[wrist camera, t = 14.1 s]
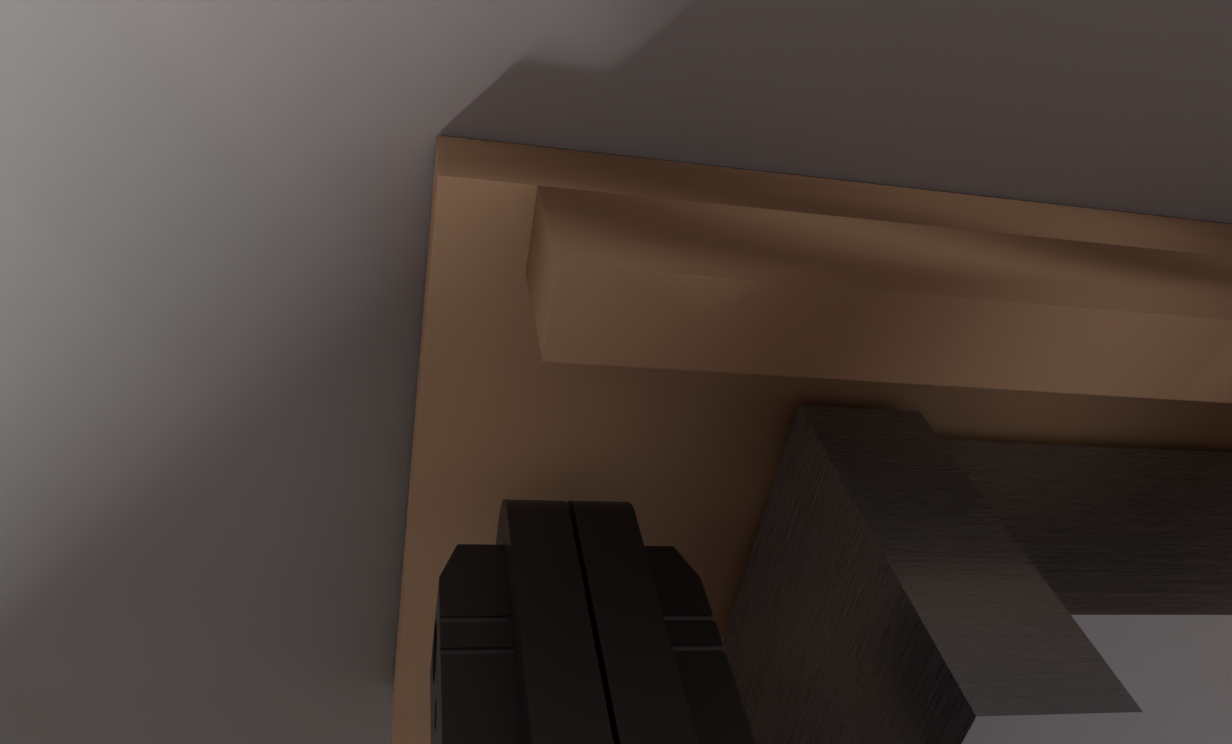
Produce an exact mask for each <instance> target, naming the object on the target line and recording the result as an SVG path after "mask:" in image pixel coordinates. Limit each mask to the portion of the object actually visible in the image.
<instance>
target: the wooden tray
mask: <svg viewBox="0 0 1232 744" xmlns="http://www.w3.org/2000/svg"><path fill="white" fill-rule="evenodd" d="M799 405H811V406H829V407H848V408H867V409H885V410H904V411H919V412H920V413H921V414H922V416H923V417H924V418H925V420H926V421H927V422H928V424H929V425H930V426H931V428H932V429H933V430H934V432H935V433H936V434H937V436H938V437H939V438H940V439H951V440H973V441H994V442H1015V443H1037V444H1058V445H1080V446H1101V447H1123V448H1144V449H1165V450H1187V451H1208V452H1230V453H1232V224H1225V223H1217V222H1208V221H1199V220H1190V219H1181V218H1172V217H1163V216H1154V215H1145V214H1136V213H1127V212H1118V211H1109V210H1100V209H1092V208H1083V207H1074V206H1065V205H1056V204H1047V203H1038V202H1029V201H1020V200H1011V199H1002V198H993V197H984V196H975V195H967V194H958V193H949V192H940V191H931V190H922V189H913V188H904V187H895V186H886V185H877V184H868V183H859V182H850V181H842V180H833V179H824V178H815V177H806V176H797V175H788V174H779V173H770V172H761V171H752V170H743V169H734V168H725V167H717V166H708V165H699V164H690V163H681V162H672V161H663V160H654V159H645V158H636V157H627V156H618V155H609V154H600V153H592V152H583V151H574V150H565V149H556V148H547V147H538V146H529V145H520V144H511V143H502V142H493V141H484V140H475V139H467V138H458V137H449V136H440V135H437V141H436V153H435V166H434V179H433V191H432V204H431V217H430V229H429V242H428V255H427V267H426V280H425V292H424V305H423V318H422V330H421V343H420V356H419V368H418V381H417V394H416V406H415V419H414V432H413V444H412V457H411V470H410V482H409V495H408V508H407V520H406V533H405V545H404V558H403V571H402V583H401V596H400V609H399V621H398V634H397V647H396V659H395V672H394V685H393V709H392V740H391V744H431V720H430V718H431V711H430V667H431V656H432V646H433V635H434V625H435V615H436V604H437V594H438V583H439V576H440V575H441V573H442V571H443V569H444V567H445V566H446V564H447V562H448V560H449V558H450V557H451V555H452V553H453V551H454V549H455V547H456V546H457V544H489V545H495V544H496V536H497V529H498V521H499V514H500V508H501V504H502V501H503V500H504V499H509V500H556V501H566V502H568V501H615V502H630V503H631V504H632V506H633V508H634V511H635V514H636V518H637V521H638V525H639V528H640V532H641V536H642V539H643V543H644V546H674V548H675V549H676V550H677V551H678V552H679V553H680V554H681V556H682V557H683V558H684V559H685V560H686V561H687V563H688V564H689V565H690V566H691V567H692V568H693V569H694V571H695V572H696V573H697V574H698V575H699V576H700V578H701V580H702V583H703V586H704V589H705V592H706V595H707V598H708V601H709V604H710V607H711V610H712V613H713V615H712V619H713V621H715V622H716V625H717V628H718V631H719V634H720V637H721V640H722V642H723V639H724V635H725V632H726V629H727V626H728V623H729V620H730V617H731V614H732V611H733V608H734V605H735V601H736V598H737V595H738V592H739V589H740V586H741V583H742V580H743V577H744V574H745V570H746V567H747V564H748V561H749V558H750V555H751V552H752V549H753V546H754V543H755V539H756V536H757V533H758V530H759V527H760V524H761V521H762V518H763V515H764V512H765V508H766V505H767V502H768V499H769V496H770V493H771V490H772V487H773V484H774V481H775V477H776V474H777V471H778V468H779V465H780V462H781V459H782V456H783V453H784V450H785V447H786V443H787V440H788V437H789V434H790V431H791V428H792V425H793V422H794V419H795V416H796V412H797V409H798V406H799Z"/></svg>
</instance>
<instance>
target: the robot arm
mask: <svg viewBox="0 0 1232 744" xmlns="http://www.w3.org/2000/svg"><path fill="white" fill-rule="evenodd" d="M712 615H713V613H712V610H711V607H710V604H709V601H708V598H707V595H706V592H705V589H704V586H703V583H702V580H701V578H700V576H699V575H698V574H697V573H696V572H695V571H694V569H693V568H692V567H691V566H690V565H689V564H688V563H687V561H686V560H685V559H684V558H683V557H682V556H681V554H680V553H679V552H678V551H677V550H676V549H675V548H674V546H644V543H643V539H642V536H641V532H640V528H639V525H638V521H637V518H636V514H635V511H634V508H633V506H632V504H631V503H630V502H615V501H568V502H566V501H556V500H509V499H504V500H503V501H502V504H501V508H500V514H499V521H498V529H497V536H496V544H495V545H489V544H457V546H456V547H455V549H454V551H453V553H452V555H451V557H450V558H449V560H448V562H447V564H446V566H445V567H444V569H443V571H442V573H441V575H440V576H439V583H438V594H437V604H436V615H435V625H434V635H433V646H432V656H431V667H430V711H431V718H430V720H431V744H756V743H755V740H754V737H753V734H752V731H751V728H750V725H749V722H748V719H747V716H746V713H745V709H744V706H743V703H742V700H741V697H740V694H739V691H738V688H737V685H736V682H735V679H734V676H733V673H732V670H731V667H730V664H729V661H728V658H727V655H726V652H723V650H722V644H723V643H722V640H721V637H720V634H719V631H718V628H717V625H716V622H715V621H713V619H712Z"/></svg>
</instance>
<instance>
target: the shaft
mask: <svg viewBox="0 0 1232 744" xmlns="http://www.w3.org/2000/svg"><path fill="white" fill-rule="evenodd" d="M722 643H723V644H722V650H723V652H726V655H727V658H728V661H729V664H730V667H731V670H732V673H733V676H734V679H735V682H736V685H737V688H738V691H739V694H740V697H741V700H742V703H743V706H744V709H745V713H746V716H747V719H748V722H749V725H750V728H751V731H752V734H753V737H754V740H755V743H756V744H1232V453H1230V452H1208V451H1187V450H1165V449H1144V448H1123V447H1101V446H1080V445H1058V444H1037V443H1015V442H994V441H973V440H951V439H940V438H939V437H938V436H937V434H936V433H935V432H934V430H933V429H932V428H931V426H930V425H929V424H928V422H927V421H926V420H925V418H924V417H923V416H922V414H921V413H920V412H919V411H904V410H885V409H867V408H848V407H829V406H811V405H799V406H798V409H797V412H796V416H795V419H794V422H793V425H792V428H791V431H790V434H789V437H788V440H787V443H786V447H785V450H784V453H783V456H782V459H781V462H780V465H779V468H778V471H777V474H776V477H775V481H774V484H773V487H772V490H771V493H770V496H769V499H768V502H767V505H766V508H765V512H764V515H763V518H762V521H761V524H760V527H759V530H758V533H757V536H756V539H755V543H754V546H753V549H752V552H751V555H750V558H749V561H748V564H747V567H746V570H745V574H744V577H743V580H742V583H741V586H740V589H739V592H738V595H737V598H736V601H735V605H734V608H733V611H732V614H731V617H730V620H729V623H728V626H727V629H726V632H725V635H724V639H723V642H722Z"/></svg>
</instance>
